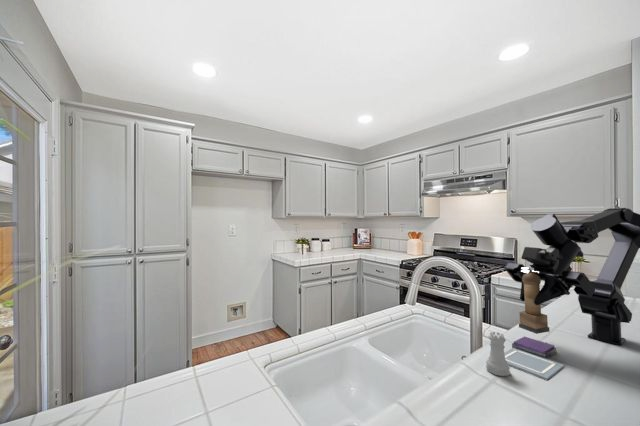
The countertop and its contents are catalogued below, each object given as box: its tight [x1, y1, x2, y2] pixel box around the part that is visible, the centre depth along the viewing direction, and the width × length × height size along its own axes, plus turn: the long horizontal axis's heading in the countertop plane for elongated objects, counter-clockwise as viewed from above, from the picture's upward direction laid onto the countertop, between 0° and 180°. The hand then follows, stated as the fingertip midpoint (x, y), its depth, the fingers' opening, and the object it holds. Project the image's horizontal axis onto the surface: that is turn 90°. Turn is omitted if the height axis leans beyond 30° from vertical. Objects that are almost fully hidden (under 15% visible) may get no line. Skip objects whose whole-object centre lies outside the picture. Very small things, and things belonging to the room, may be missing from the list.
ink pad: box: [511, 336, 558, 360], centre depth 69 cm, size 7×7×2 cm
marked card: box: [504, 347, 565, 381], centre depth 62 cm, size 10×10×1 cm
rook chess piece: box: [485, 331, 511, 377], centre depth 59 cm, size 4×4×8 cm
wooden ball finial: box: [518, 272, 550, 334], centre depth 69 cm, size 4×4×14 cm
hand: (528, 302), depth 69 cm, fingers closed on wooden ball finial, 3 cm apart
